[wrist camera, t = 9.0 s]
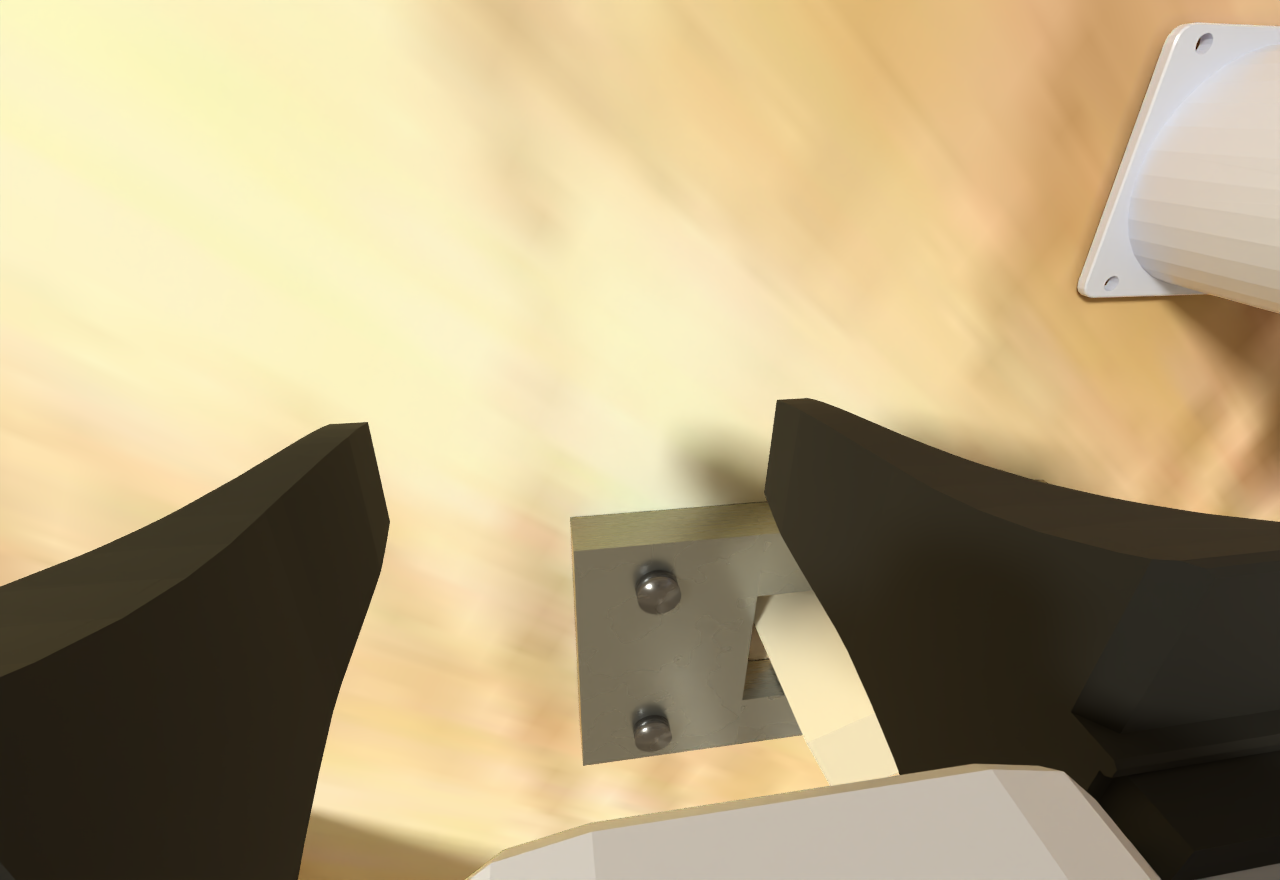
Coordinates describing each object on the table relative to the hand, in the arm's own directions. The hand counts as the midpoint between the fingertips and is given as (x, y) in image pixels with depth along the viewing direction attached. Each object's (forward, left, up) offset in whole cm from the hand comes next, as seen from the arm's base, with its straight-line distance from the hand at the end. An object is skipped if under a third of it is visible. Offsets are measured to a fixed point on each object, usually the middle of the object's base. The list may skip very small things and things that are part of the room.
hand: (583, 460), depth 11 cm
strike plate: (-10, +14, -9) cm, 20 cm away
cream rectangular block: (-10, +14, -10) cm, 19 cm away
